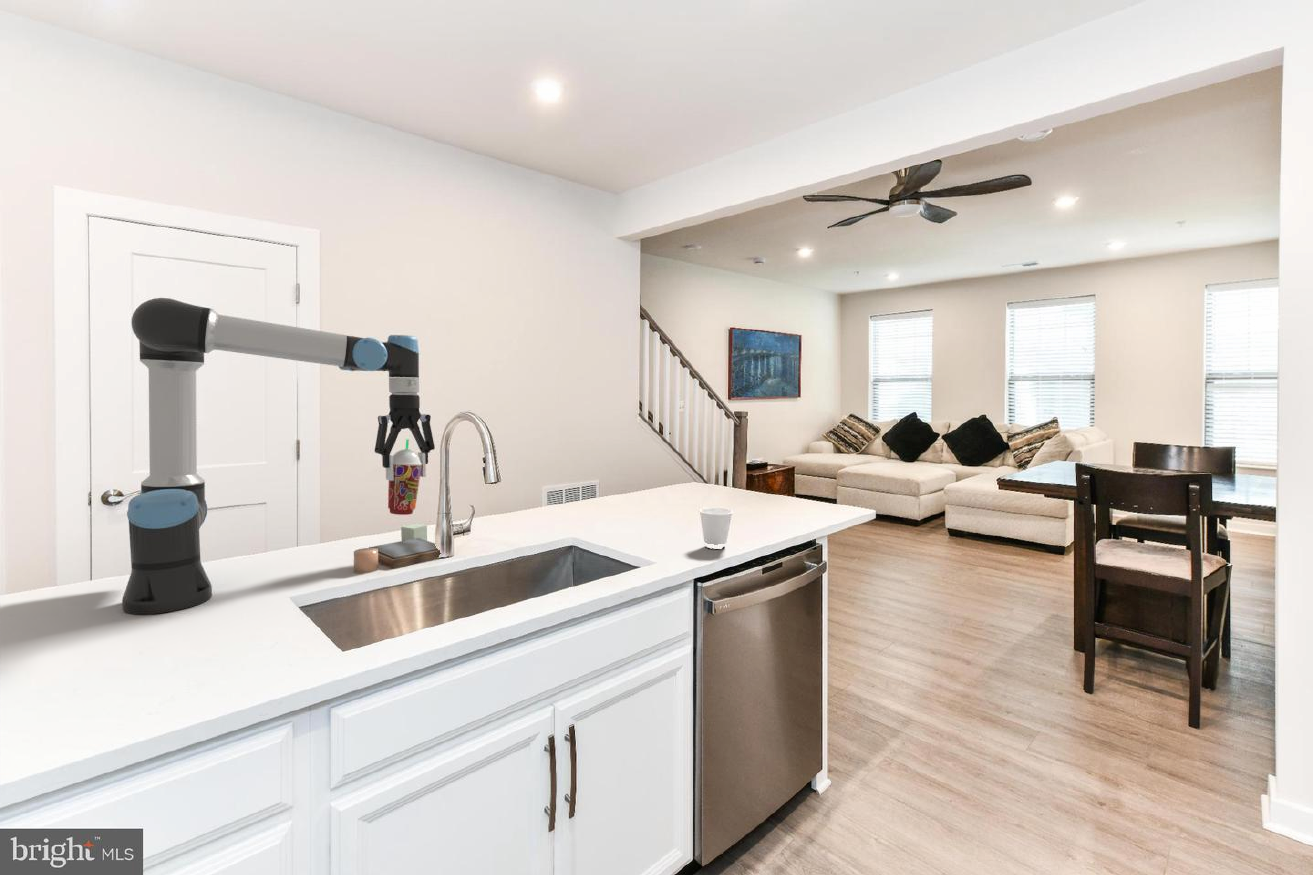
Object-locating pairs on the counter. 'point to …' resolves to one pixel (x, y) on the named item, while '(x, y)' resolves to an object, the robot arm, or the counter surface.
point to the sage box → (414, 532)
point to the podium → (406, 553)
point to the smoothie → (404, 482)
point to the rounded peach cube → (366, 560)
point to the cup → (715, 524)
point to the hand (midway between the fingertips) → (406, 477)
